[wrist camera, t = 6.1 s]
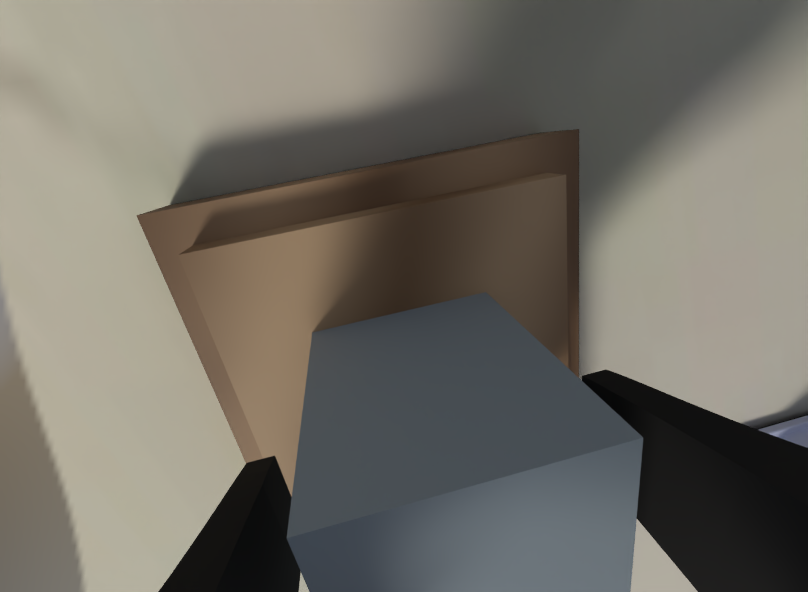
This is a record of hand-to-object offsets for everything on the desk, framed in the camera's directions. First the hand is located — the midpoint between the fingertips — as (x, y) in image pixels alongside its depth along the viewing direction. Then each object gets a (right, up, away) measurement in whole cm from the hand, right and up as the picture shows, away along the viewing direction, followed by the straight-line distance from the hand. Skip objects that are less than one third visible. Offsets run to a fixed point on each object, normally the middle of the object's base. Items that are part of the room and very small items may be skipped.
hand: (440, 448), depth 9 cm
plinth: (-1, +2, +6) cm, 6 cm away
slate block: (-1, +1, +3) cm, 3 cm away
